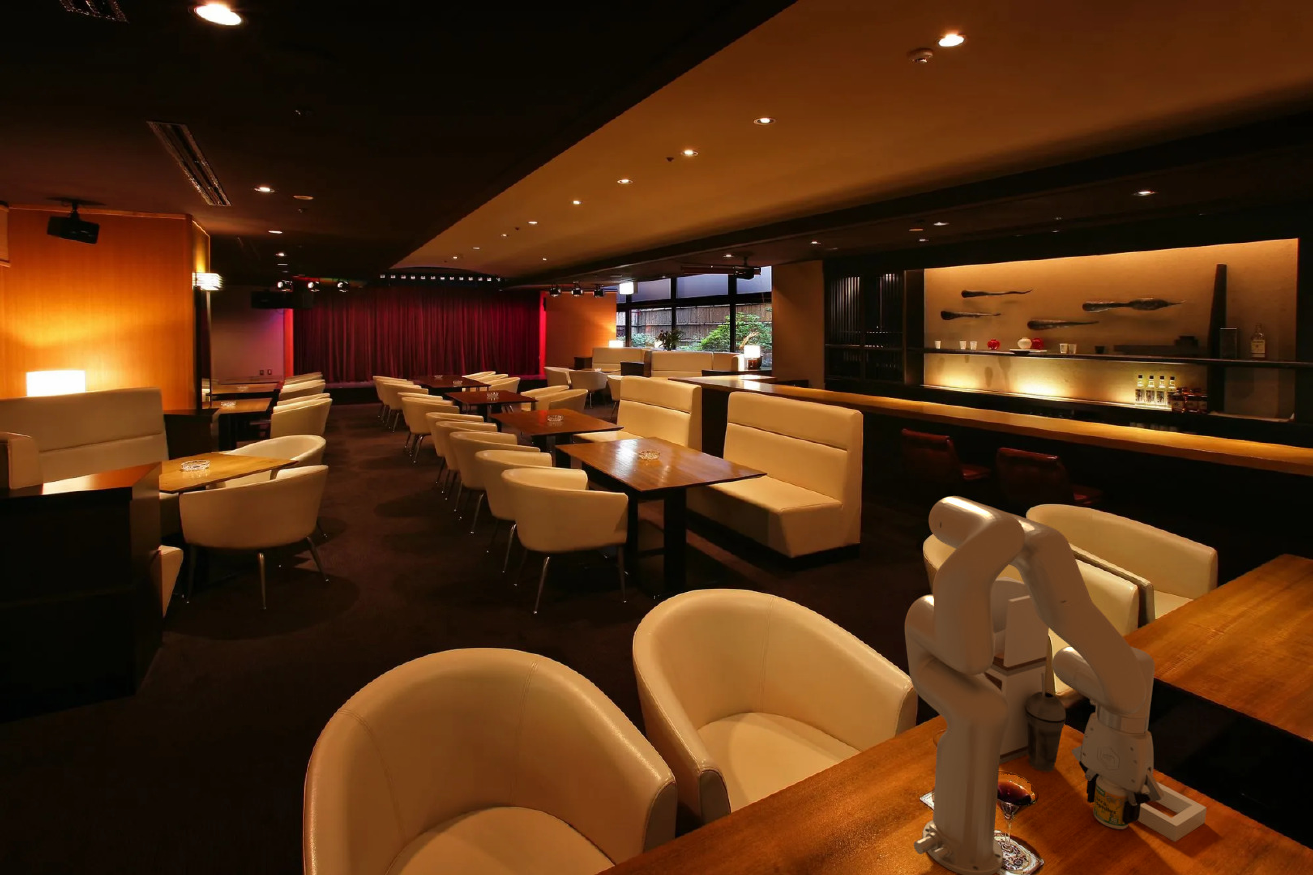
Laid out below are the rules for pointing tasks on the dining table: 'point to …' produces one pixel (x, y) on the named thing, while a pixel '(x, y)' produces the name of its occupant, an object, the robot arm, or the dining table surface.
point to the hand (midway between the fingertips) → (1111, 809)
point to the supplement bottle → (1109, 803)
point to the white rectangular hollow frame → (1178, 825)
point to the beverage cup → (1044, 728)
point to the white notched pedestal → (1016, 658)
